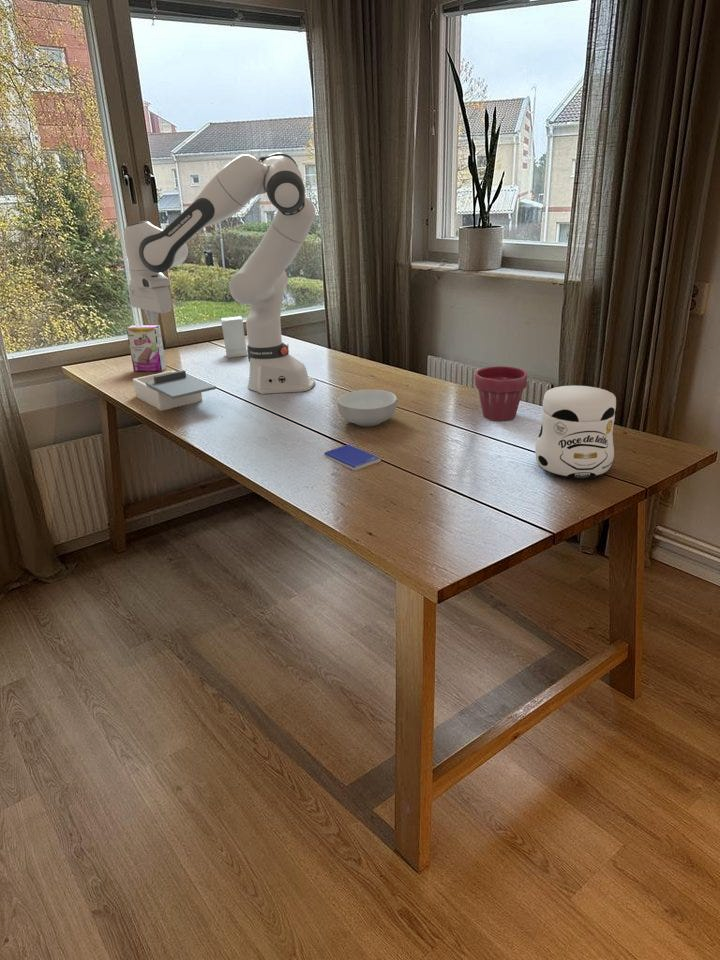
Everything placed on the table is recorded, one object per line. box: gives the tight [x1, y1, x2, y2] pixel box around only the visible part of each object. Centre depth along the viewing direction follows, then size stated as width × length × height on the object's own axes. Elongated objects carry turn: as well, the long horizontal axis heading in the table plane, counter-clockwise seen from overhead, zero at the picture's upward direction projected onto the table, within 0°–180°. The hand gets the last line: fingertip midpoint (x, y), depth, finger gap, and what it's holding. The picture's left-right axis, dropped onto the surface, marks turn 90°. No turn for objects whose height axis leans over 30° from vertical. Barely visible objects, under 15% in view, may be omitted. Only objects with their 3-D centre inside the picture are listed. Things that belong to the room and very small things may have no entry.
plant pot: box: [474, 365, 528, 422], centre depth 189 cm, size 14×14×13 cm
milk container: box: [534, 385, 617, 480], centre depth 153 cm, size 17×17×18 cm
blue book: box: [323, 444, 382, 471], centre depth 167 cm, size 2×8×12 cm
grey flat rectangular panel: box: [146, 369, 217, 399], centre depth 207 cm, size 20×14×3 cm
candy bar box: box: [126, 324, 167, 373], centre depth 247 cm, size 11×5×16 cm, turn 84°
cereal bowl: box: [337, 388, 398, 427], centre depth 190 cm, size 17×17×7 cm
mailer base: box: [132, 370, 203, 412], centre depth 217 cm, size 20×14×6 cm
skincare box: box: [220, 315, 248, 359], centre depth 263 cm, size 8×6×15 cm
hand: (153, 324), depth 210 cm, fingers closed
